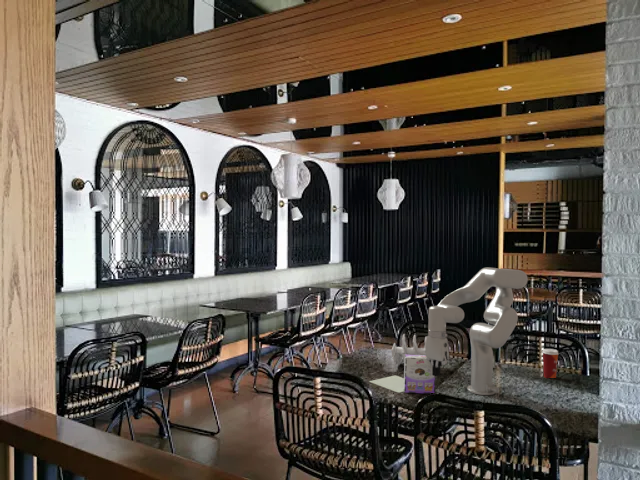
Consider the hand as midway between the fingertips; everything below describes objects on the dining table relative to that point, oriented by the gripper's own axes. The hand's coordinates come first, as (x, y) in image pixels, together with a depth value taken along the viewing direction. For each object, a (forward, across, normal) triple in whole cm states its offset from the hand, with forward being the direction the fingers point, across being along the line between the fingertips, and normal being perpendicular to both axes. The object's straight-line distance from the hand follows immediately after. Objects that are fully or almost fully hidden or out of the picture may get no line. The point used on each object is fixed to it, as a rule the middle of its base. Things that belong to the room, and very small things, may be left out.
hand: (436, 375), depth 217 cm
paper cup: (+10, -14, -73) cm, 75 cm away
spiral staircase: (+10, +39, -30) cm, 50 cm away
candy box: (+10, +10, 0) cm, 14 cm away
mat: (+10, +24, 0) cm, 26 cm away
